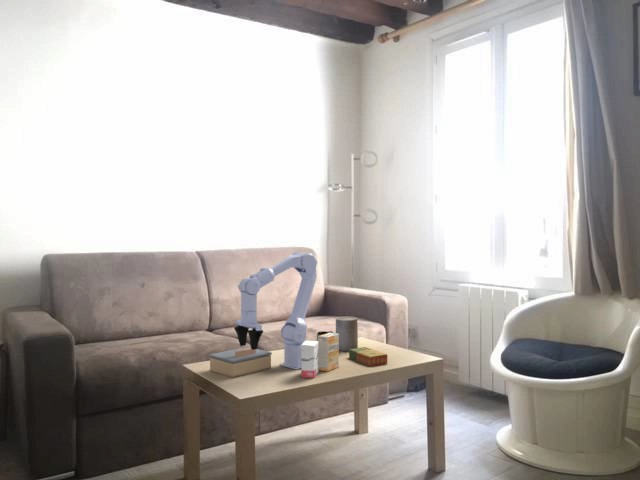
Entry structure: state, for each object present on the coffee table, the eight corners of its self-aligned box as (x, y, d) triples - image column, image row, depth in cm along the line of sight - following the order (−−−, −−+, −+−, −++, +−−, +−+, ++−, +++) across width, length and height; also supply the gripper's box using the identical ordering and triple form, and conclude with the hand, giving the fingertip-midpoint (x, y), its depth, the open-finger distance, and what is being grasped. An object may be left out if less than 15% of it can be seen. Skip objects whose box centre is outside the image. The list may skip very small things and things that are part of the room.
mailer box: (270, 368, 213) (270, 355, 213) (232, 377, 200) (232, 363, 200) (247, 362, 222) (247, 349, 222) (210, 370, 210) (210, 357, 209)
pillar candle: (356, 346, 251) (356, 313, 251) (359, 351, 241) (358, 316, 241) (334, 346, 251) (334, 313, 250) (336, 351, 241) (336, 317, 240)
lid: (271, 354, 213) (271, 347, 213) (232, 363, 199) (232, 355, 199) (247, 348, 223) (247, 341, 223) (209, 356, 209) (209, 349, 209)
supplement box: (328, 372, 208) (328, 337, 207) (317, 370, 210) (317, 335, 210) (339, 367, 215) (339, 333, 214) (328, 365, 217) (328, 332, 217)
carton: (370, 367, 216) (370, 356, 216) (348, 358, 230) (348, 348, 230) (387, 364, 220) (387, 353, 220) (365, 356, 234) (365, 346, 234)
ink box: (314, 378, 199) (314, 345, 199) (300, 377, 200) (300, 344, 200) (318, 372, 208) (318, 340, 207) (306, 371, 209) (306, 339, 208)
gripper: (229, 309, 208) (228, 345, 209) (250, 314, 197) (249, 352, 197) (245, 307, 213) (244, 343, 213) (266, 312, 202) (266, 349, 202)
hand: (248, 347), depth 206 cm, fingers open, 7 cm apart
